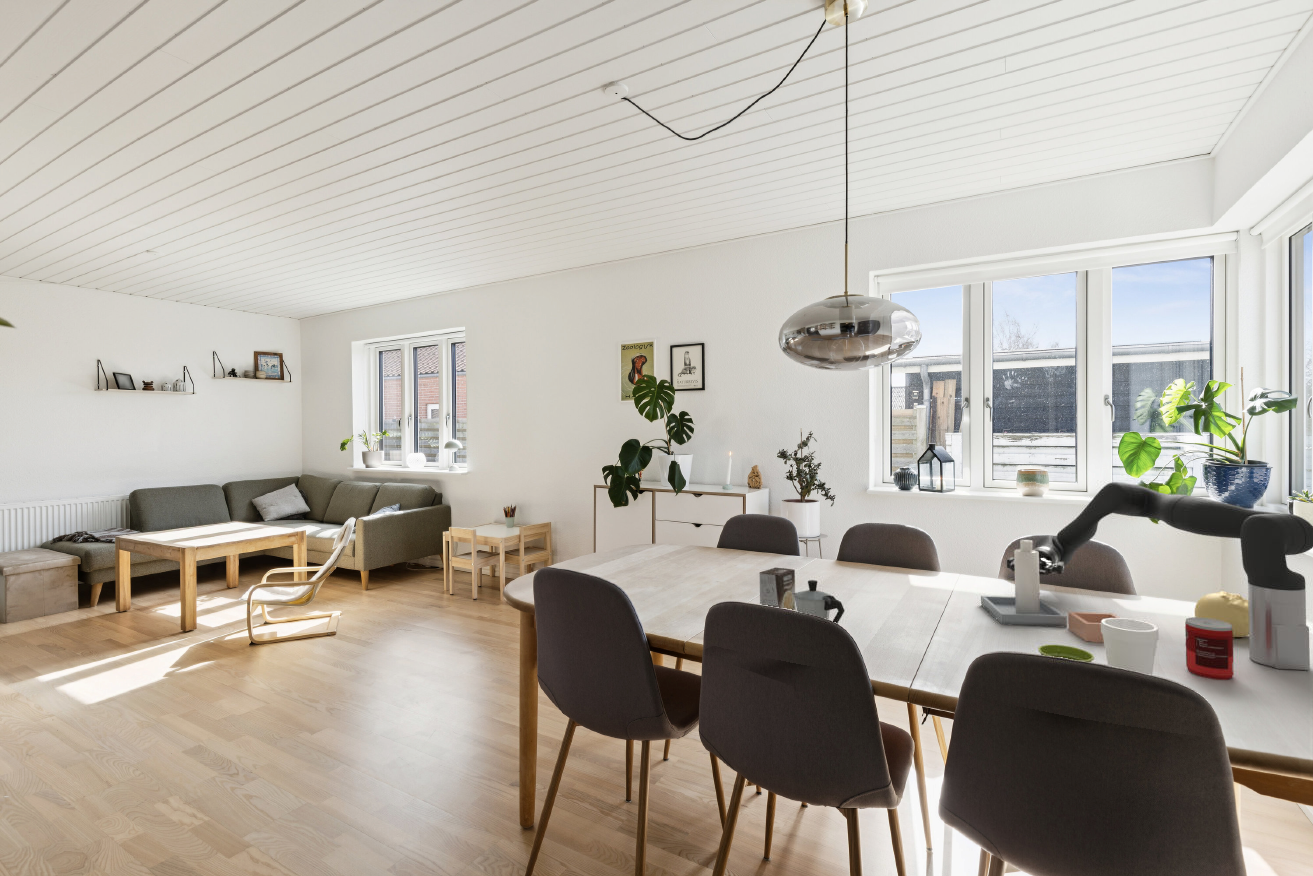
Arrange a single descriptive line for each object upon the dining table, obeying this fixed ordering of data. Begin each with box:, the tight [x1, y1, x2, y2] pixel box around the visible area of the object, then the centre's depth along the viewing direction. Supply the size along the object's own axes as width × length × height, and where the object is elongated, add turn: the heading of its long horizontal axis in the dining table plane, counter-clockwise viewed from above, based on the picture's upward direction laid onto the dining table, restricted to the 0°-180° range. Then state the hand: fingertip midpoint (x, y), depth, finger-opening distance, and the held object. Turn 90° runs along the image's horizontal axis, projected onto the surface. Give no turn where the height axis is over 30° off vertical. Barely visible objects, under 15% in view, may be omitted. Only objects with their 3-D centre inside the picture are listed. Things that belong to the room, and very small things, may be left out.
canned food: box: [1184, 616, 1234, 681], centre depth 136 cm, size 8×8×11 cm
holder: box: [1067, 611, 1121, 643], centre depth 162 cm, size 10×10×4 cm
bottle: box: [1013, 539, 1041, 615], centre depth 179 cm, size 6×6×21 cm
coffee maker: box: [792, 579, 845, 625], centre depth 153 cm, size 15×9×18 cm, turn 40°
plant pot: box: [1037, 644, 1095, 663], centre depth 127 cm, size 9×9×9 cm
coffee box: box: [759, 567, 796, 611], centre depth 175 cm, size 9×6×16 cm
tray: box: [980, 595, 1068, 628], centre depth 182 cm, size 20×16×3 cm
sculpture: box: [1194, 590, 1249, 638], centre depth 161 cm, size 12×12×11 cm
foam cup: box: [1101, 617, 1159, 676], centre depth 130 cm, size 10×9×13 cm
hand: (1029, 569), depth 183 cm, fingers open, 8 cm apart
